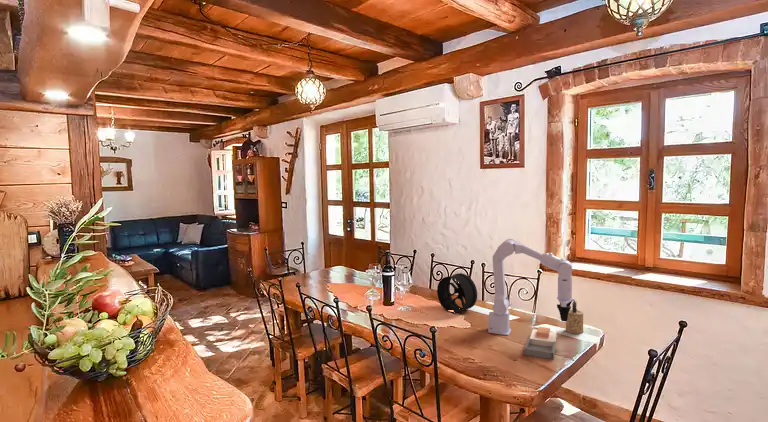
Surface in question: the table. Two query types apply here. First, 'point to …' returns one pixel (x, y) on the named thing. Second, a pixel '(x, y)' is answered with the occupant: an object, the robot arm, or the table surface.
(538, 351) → the tray
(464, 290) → the car wheel rim
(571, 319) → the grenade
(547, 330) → the tile
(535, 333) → the board
